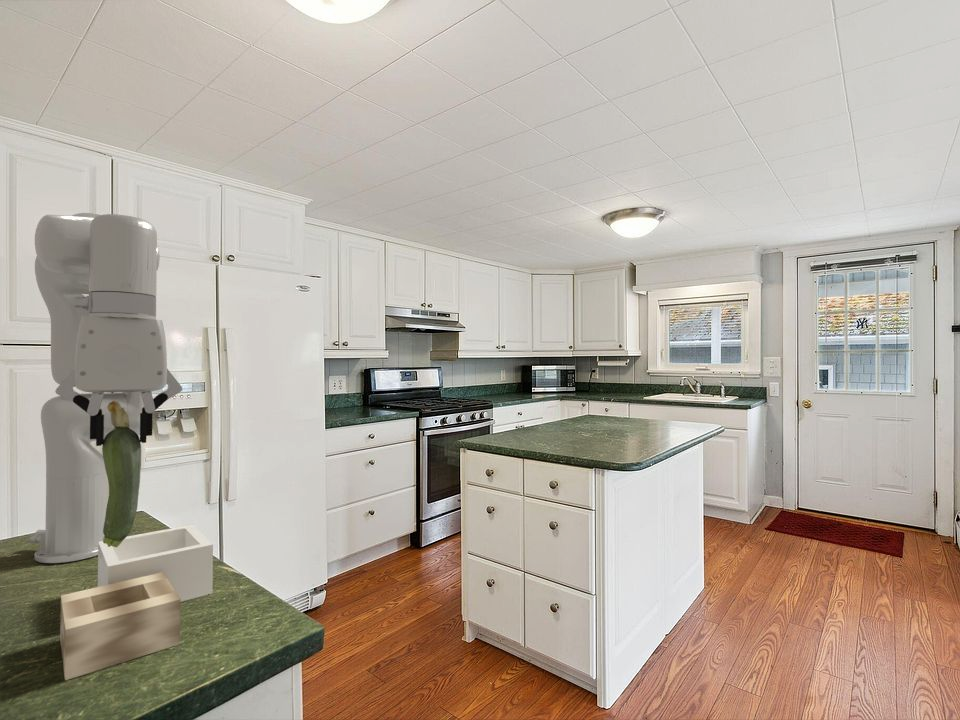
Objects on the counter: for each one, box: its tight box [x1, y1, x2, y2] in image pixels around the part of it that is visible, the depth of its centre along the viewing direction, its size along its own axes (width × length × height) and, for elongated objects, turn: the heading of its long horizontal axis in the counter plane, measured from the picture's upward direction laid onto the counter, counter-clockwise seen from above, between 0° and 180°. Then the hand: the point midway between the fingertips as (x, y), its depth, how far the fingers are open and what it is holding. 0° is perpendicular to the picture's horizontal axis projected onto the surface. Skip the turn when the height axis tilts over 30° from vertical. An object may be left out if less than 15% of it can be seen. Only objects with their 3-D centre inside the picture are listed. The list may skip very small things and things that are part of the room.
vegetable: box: [101, 401, 142, 548], centre depth 69 cm, size 4×4×20 cm
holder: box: [59, 572, 182, 681], centre depth 69 cm, size 12×12×6 cm
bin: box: [97, 524, 214, 603], centre depth 84 cm, size 14×14×8 cm
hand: (121, 441), depth 69 cm, fingers closed on vegetable, 4 cm apart
